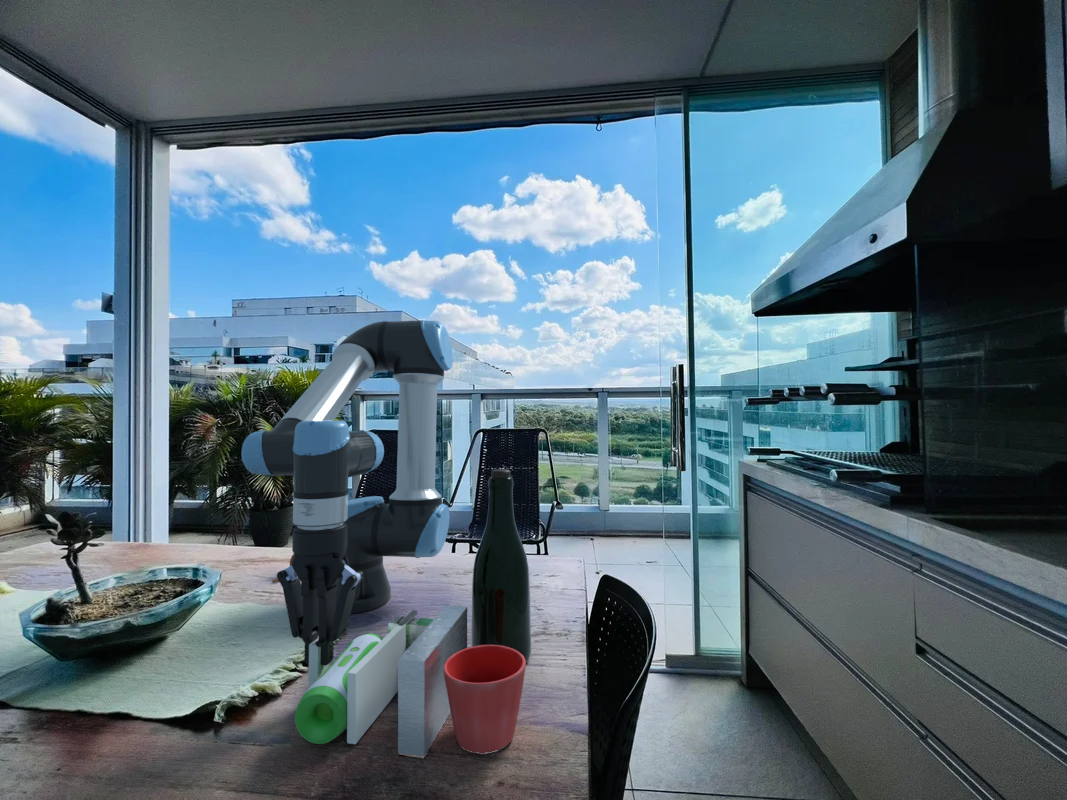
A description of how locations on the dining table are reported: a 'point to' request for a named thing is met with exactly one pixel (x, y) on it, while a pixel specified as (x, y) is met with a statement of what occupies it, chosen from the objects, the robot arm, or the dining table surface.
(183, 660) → the dining table surface
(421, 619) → the frame
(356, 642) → the speaker
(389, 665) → the plate
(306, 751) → the dining table surface
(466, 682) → the flower pot
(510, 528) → the beer bottle
